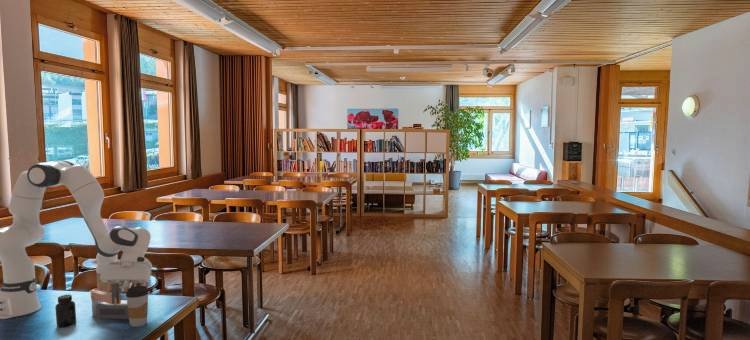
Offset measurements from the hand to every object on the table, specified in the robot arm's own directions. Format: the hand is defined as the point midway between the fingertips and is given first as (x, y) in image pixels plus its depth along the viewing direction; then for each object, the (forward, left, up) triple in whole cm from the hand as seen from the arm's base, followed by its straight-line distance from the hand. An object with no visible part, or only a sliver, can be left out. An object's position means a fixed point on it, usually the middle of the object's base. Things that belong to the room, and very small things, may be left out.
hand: (119, 291), depth 194 cm
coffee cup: (+10, -3, -13) cm, 16 cm away
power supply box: (-6, +4, -12) cm, 15 cm away
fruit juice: (-24, +31, -13) cm, 41 cm away
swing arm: (-7, +1, -4) cm, 8 cm away
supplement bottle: (-20, -5, -13) cm, 24 cm away
